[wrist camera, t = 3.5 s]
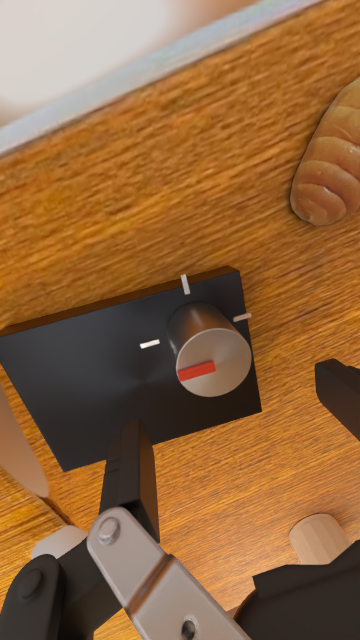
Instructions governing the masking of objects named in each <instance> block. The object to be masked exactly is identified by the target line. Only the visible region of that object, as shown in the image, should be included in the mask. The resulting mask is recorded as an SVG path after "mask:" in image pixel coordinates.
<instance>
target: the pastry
mask: <svg viewBox="0 0 360 640" xmlns="http://www.w3.org/2000/svg"><path fill="white" fill-rule="evenodd" d="M290 202H291V207H292V209H293V211H294V212H295V213H296V214H297V215H298V217H300V218H301V219H302V220H305V221H307V222H309V223H311V224H313V225H316V226H320V225H330V224H332V223H334V222H335V221H337V220H338V219H340V218H342V217H343V216H345V215H347V214H351V213H353V212H355V211H356V209H357V208H358V207H359V206H360V76H359V77H358V78H357V79H356V80H355V81H353V82H352V83H350V84H349V85H347V86H346V87H345V88H343V89H342V90H341V91H340V93H339V94H338V95H337V96H336V98H335V99H334V101H333V102H332V104H331V105H330V107H329V108H328V109H327V111H326V112H325V114H324V115H323V117H322V119H321V121H320V124H319V126H318V128H317V129H316V130H315V132H314V135H313V137H312V139H311V140H310V142H309V144H308V147H307V149H306V152H305V154H304V156H303V159H301V163H300V165H299V167H298V169H297V172H296V175H295V177H294V179H293V183H292V191H291V196H290Z"/></svg>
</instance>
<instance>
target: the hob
mask: <svg viewBox="0 0 360 640" xmlns="http://www.w3.org/2000/svg"><path fill="white" fill-rule="evenodd" d="M180 276H181V279H178V280H174V281H171V282H167V283H163V284H160V285H156V286H153V287H149V288H145V289H142V290H138V291H134V292H131V293H127V294H124V295H120V296H116V297H113V298H109V299H105V300H102V301H98V302H95V303H91V304H87V305H84V306H80V307H77V308H73V309H69V310H66V311H62V312H58V313H55V314H51V315H48V316H44V317H40V318H37V319H33V320H29V321H26V322H22V323H19V324H15V325H11V326H8V327H5V328H3V329H2V330H1V331H0V363H1V365H2V366H3V368H4V370H5V372H6V373H7V375H8V377H9V378H10V380H11V382H12V384H13V385H14V387H15V389H16V390H17V392H18V394H19V396H20V397H21V399H22V401H23V403H24V404H25V406H26V408H27V409H28V411H29V413H30V415H31V416H32V418H33V420H34V422H35V423H36V425H37V427H38V428H39V430H40V432H41V434H42V435H43V437H44V439H45V441H46V442H47V444H48V446H49V447H50V449H51V451H52V453H53V454H54V456H55V458H56V460H57V461H58V463H59V465H60V466H61V468H62V470H63V472H66V471H70V470H73V469H76V468H79V467H83V466H86V465H89V464H93V463H96V462H99V461H102V460H106V458H107V451H108V448H109V447H110V445H111V443H112V441H113V439H114V438H117V437H121V436H122V431H123V423H124V422H126V421H130V420H133V419H136V418H140V417H141V418H142V420H143V423H144V426H145V428H146V431H147V433H148V436H149V439H150V441H151V444H152V445H155V444H158V443H161V442H165V441H168V440H171V439H174V438H178V437H181V436H184V435H188V434H191V433H194V432H197V431H201V430H204V429H207V428H211V427H214V426H217V425H220V424H224V423H227V422H230V421H233V420H237V419H240V418H243V417H247V416H250V415H253V414H256V413H260V412H262V408H261V402H260V396H259V390H258V384H257V377H256V371H255V365H254V359H253V352H252V346H251V340H250V334H249V327H248V321H247V318H250V317H252V316H251V312H249V313H246V309H245V302H244V296H243V290H242V284H241V278H240V271H239V270H237V269H235V268H232V267H230V266H225V267H221V268H218V269H214V270H210V271H207V272H203V273H200V274H196V275H192V276H189V277H186V274H183V275H180ZM193 302H204V303H208V304H210V305H212V306H214V307H215V308H217V309H218V310H219V311H220V312H221V314H222V315H223V316H224V317H225V318H226V319H227V320H228V321H229V322H230V323H231V325H232V326H233V327H234V328H235V329H236V330H237V331H238V332H239V333H240V335H241V336H242V337H243V338H244V339H245V340H246V342H247V343H248V345H249V347H250V351H251V366H250V369H249V372H248V374H247V376H246V377H245V379H244V380H243V381H242V382H241V383H240V384H239V385H238V386H237V387H236V388H235V389H233V390H231V391H230V392H228V393H225V394H223V395H219V396H213V397H206V396H200V395H197V394H194V393H192V392H190V391H189V390H187V389H186V388H185V387H184V386H183V385H182V384H181V382H180V381H179V379H178V376H177V372H176V368H175V364H174V360H173V356H172V352H171V348H170V344H169V340H168V335H167V328H168V323H169V321H170V319H171V317H172V315H173V314H174V313H175V312H176V311H177V310H178V309H179V308H181V307H182V306H184V305H186V304H189V303H193Z"/></svg>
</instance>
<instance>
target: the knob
mask: <svg viewBox="0 0 360 640" xmlns="http://www.w3.org/2000/svg"><path fill="white" fill-rule="evenodd" d="M167 335H168V340H169V344H170V348H171V352H172V356H173V360H174V364H175V368H176V372H177V376H178V379H179V381H180V382H181V384H182V385H183V386H184V387H185V388H186V389H187V390H189V391H190V392H192V393H194V394H197V395H200V396H206V397H213V396H219V395H223V394H225V393H228V392H230V391H231V390H233V389H235V388H236V387H237V386H238V385H239V384H240V383H241V382H242V381H243V380H244V379H245V377H246V376H247V374H248V372H249V369H250V366H251V351H250V347H249V345H248V343H247V342H246V340H245V339H244V338H243V337H242V336H241V335H240V333H239V332H238V331H237V330H236V329H235V328H234V327H233V326H232V325H231V323H230V322H229V321H228V320H227V319H226V318H225V317H224V316H223V315H222V314H221V312H220V311H219V310H218V309H217V308H215V307H214V306H212V305H210V304H208V303H204V302H193V303H189V304H186V305H184V306H182V307H181V308H179V309H178V310H177V311H176V312H175V313H174V314H173V315H172V317H171V319H170V321H169V323H168V328H167Z"/></svg>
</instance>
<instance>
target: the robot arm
mask: <svg viewBox="0 0 360 640" xmlns="http://www.w3.org/2000/svg"><path fill="white" fill-rule="evenodd" d="M315 380H316V393H317V396H318V398H319V400H320V402H321V403H322V404H323V405H324V406H325V407H326V408H327V409H328V410H329V411H330V412H331V413H332V414H333V415H334V416H335V417H336V418H337V419H338V420H339V421H340V422H341V423H342V424H343V425H344V426H345V427H346V428H347V429H348V430H349V431H350V432H351V433H352V434H353V435H354V436H355V437H356V438H357V439H358V440H359V441H360V369H358V368H355V367H352V366H347V367H346V366H345V365H343V364H342V363H341V362H339V361H338V360H336V359H334V358H332V359H329V360H325V361H322V362H319V363H316V364H315ZM158 543H160V534H159V519H158V504H157V489H156V474H155V460H154V452H153V448H152V444H151V441H150V439H149V436H148V433H147V431H146V428H145V426H144V423H143V420H142V418H141V417H140V418H136V419H133V420H130V421H126V422H124V423H123V431H122V436H121V437H117V438H114V439H113V441H112V443H111V445H110V447H109V448H108V451H107V458H106V466H105V474H104V480H103V488H102V495H101V502H100V509H99V515H98V517H97V519H96V520H95V521H94V523H93V524H92V526H91V528H90V530H89V533H88V536H87V537H86V538H85V539H84V540H83V541H82V542H81V543H80V544H78V545H77V546H75V547H74V548H73V549H71V550H70V551H68V552H67V553H65V554H64V555H62V556H61V557H60V558H58V559H56V558H55V557H54V556H53V555H50V554H44V555H40V556H38V557H36V558H34V559H33V560H31V561H30V562H29V563H27V564H26V565H25V566H24V567H23V568H22V569H21V570H20V572H19V573H18V574H17V576H16V577H15V578H14V580H13V582H12V583H11V585H10V587H9V589H8V592H7V595H6V598H5V601H4V604H3V607H2V610H1V614H0V640H93V635H94V631H95V630H96V629H98V628H99V627H100V626H101V625H102V624H104V623H105V622H106V621H107V620H108V619H110V618H111V617H112V616H113V615H114V614H116V613H117V612H118V611H119V610H120V609H122V608H124V610H125V611H126V613H127V615H128V617H129V618H130V620H131V621H132V623H133V625H134V626H135V628H136V630H137V631H138V633H139V634H140V636H141V638H142V639H143V640H360V540H357V541H355V542H354V543H353V544H352V545H350V546H349V547H348V548H347V549H346V550H345V551H343V552H342V553H341V554H340V555H339V556H338V557H336V558H335V559H334V560H333V561H332V562H330V563H329V564H324V565H284V566H281V567H278V568H275V569H272V570H269V571H266V572H263V573H260V574H257V575H255V576H252V577H253V581H254V585H255V590H254V591H253V592H251V593H250V594H249V595H248V596H247V597H246V599H245V600H244V601H243V602H242V603H241V605H240V606H239V608H238V610H237V611H236V613H235V615H234V617H233V619H232V618H231V617H230V616H229V614H228V613H227V612H226V611H225V610H224V609H223V608H222V607H221V606H220V605H219V604H218V602H217V601H216V600H215V599H214V598H213V597H212V596H211V595H210V594H209V593H208V592H207V590H206V589H205V588H204V587H203V586H202V585H201V584H200V583H199V582H198V581H197V580H196V579H195V577H194V576H193V575H192V574H191V573H190V572H189V571H188V570H187V569H186V568H185V567H184V566H183V564H182V563H181V562H180V561H179V560H178V559H177V558H176V557H175V556H173V555H172V554H169V555H168V554H167V553H166V552H165V551H164V550H163V549H162V548H161V547H160V546H159V545H158Z"/></svg>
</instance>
